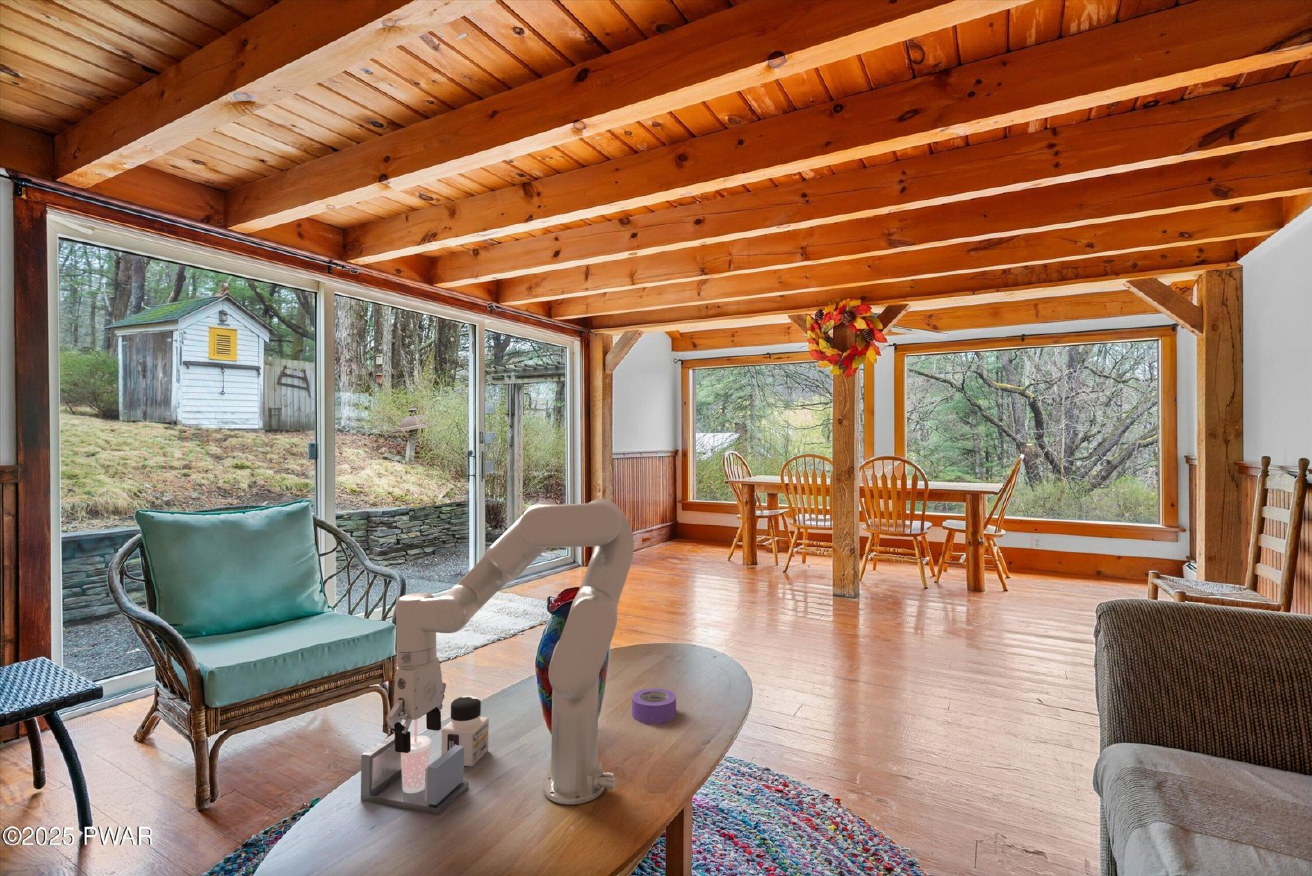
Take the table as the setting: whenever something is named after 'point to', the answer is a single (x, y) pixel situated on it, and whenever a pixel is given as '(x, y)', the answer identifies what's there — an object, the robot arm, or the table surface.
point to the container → (466, 729)
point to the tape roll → (654, 706)
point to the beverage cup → (415, 763)
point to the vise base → (395, 781)
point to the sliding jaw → (444, 775)
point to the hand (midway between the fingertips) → (418, 740)
